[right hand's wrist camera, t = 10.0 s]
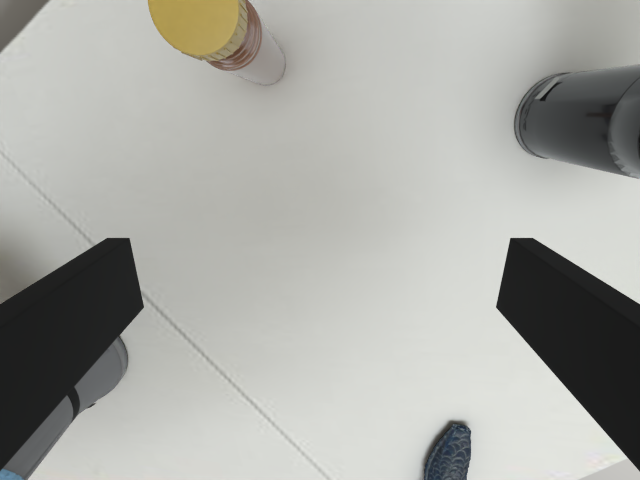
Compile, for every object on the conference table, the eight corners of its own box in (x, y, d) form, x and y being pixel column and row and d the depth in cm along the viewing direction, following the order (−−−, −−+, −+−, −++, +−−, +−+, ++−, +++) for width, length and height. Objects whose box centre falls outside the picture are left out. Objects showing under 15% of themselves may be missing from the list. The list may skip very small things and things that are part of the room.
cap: (264, 35, 19) (257, 26, 17) (197, 77, 20) (182, 73, 18) (218, -53, 18) (205, -75, 16) (148, -5, 19) (126, -19, 16)
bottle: (293, 72, 40) (260, 29, 18) (258, 93, 40) (185, 76, 18) (272, 31, 38) (208, -73, 16) (236, 53, 39) (128, -17, 17)
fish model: (409, 503, 65) (416, 533, 61) (436, 418, 58) (446, 445, 53) (444, 505, 66) (454, 535, 61) (474, 421, 59) (489, 448, 54)
